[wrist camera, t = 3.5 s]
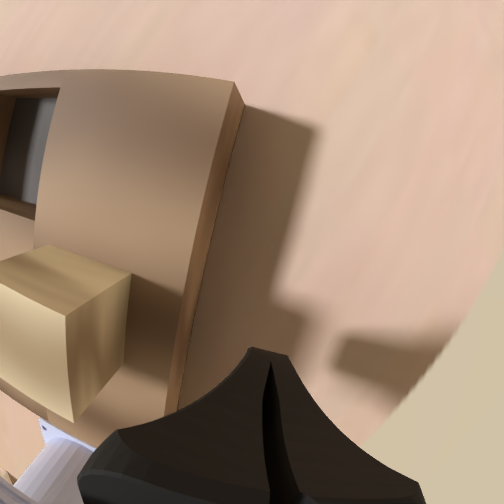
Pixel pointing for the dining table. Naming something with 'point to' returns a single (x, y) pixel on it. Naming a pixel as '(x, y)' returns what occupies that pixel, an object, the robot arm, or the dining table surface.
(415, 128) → the dining table surface
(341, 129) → the dining table surface
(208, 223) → the trap board
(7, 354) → the maple block
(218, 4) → the dining table surface
